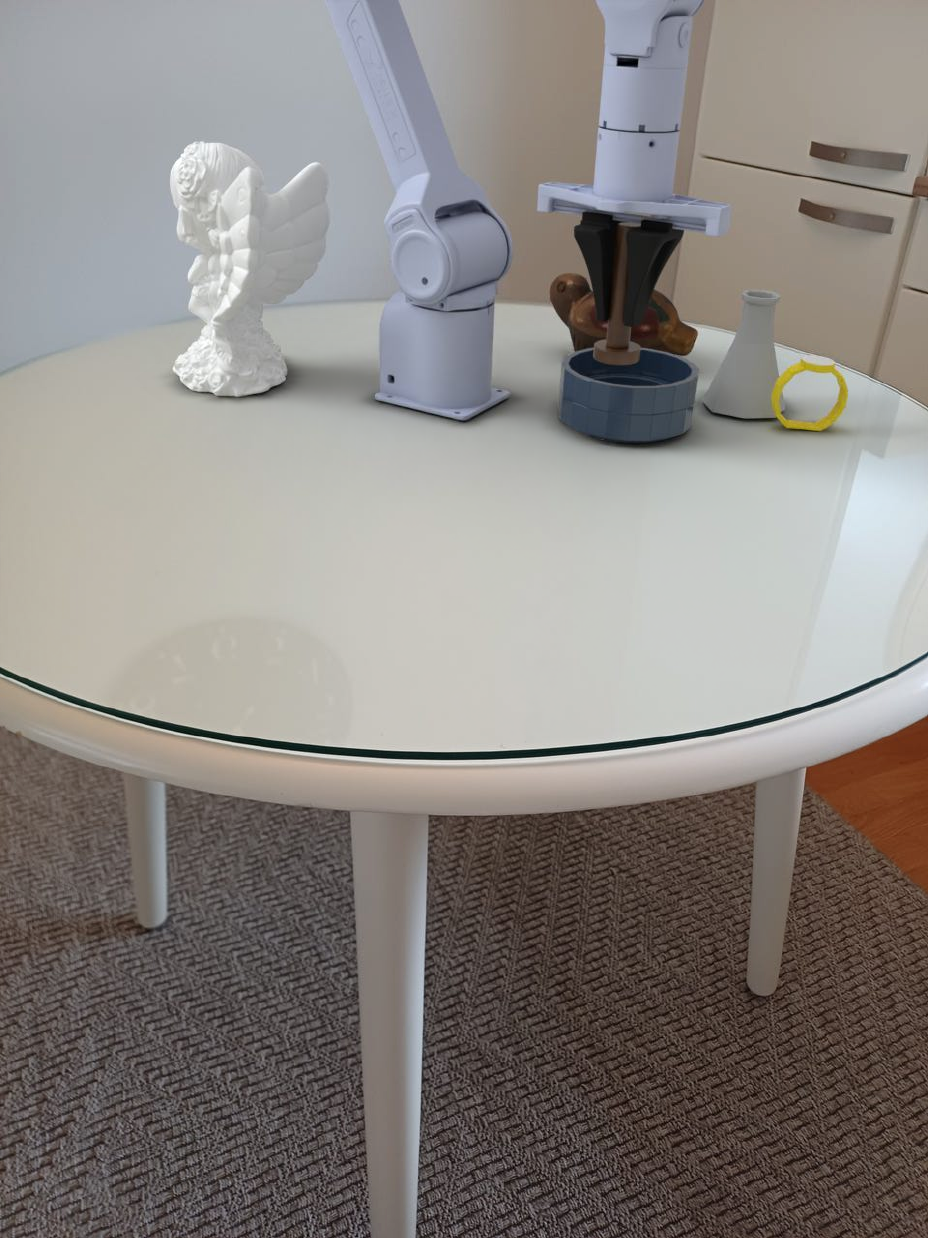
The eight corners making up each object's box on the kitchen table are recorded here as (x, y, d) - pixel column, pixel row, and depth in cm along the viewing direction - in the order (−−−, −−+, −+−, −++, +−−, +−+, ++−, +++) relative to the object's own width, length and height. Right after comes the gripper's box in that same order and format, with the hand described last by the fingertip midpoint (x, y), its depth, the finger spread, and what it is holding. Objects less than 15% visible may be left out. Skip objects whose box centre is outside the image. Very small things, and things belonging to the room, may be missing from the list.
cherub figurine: (233, 347, 108) (215, 127, 98) (342, 366, 104) (335, 139, 94) (148, 384, 98) (118, 143, 88) (265, 407, 93) (248, 156, 83)
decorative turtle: (553, 338, 114) (564, 259, 110) (696, 366, 110) (713, 286, 106) (527, 359, 105) (538, 274, 102) (680, 390, 102) (698, 304, 98)
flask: (786, 425, 93) (808, 307, 88) (701, 417, 94) (717, 300, 89) (782, 398, 99) (803, 286, 94) (702, 391, 100) (718, 280, 95)
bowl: (534, 428, 91) (538, 370, 88) (593, 393, 99) (598, 338, 96) (659, 458, 86) (666, 397, 83) (710, 418, 94) (718, 361, 91)
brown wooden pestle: (585, 359, 84) (596, 224, 79) (605, 348, 87) (618, 217, 82) (627, 368, 83) (642, 231, 78) (646, 356, 85) (662, 223, 80)
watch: (771, 432, 91) (783, 363, 88) (764, 421, 94) (775, 353, 91) (842, 435, 91) (857, 365, 88) (833, 423, 94) (847, 355, 91)
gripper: (521, 123, 77) (511, 316, 84) (715, 143, 70) (688, 350, 77) (567, 115, 82) (555, 297, 89) (752, 133, 75) (723, 328, 82)
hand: (619, 321), depth 83 cm, fingers closed on brown wooden pestle, 2 cm apart
